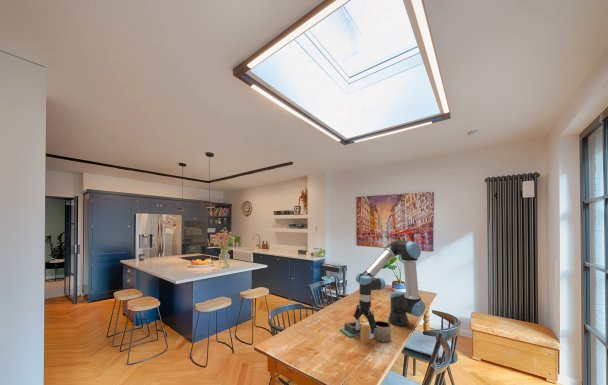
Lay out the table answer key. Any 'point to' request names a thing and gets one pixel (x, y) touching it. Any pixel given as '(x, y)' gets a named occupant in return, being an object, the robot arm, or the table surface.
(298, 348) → the table surface
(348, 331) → the board
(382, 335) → the planter
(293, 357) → the table surface
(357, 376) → the table surface
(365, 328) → the plug
